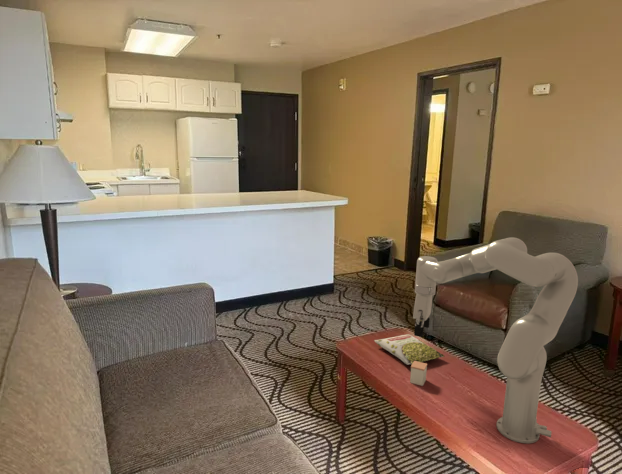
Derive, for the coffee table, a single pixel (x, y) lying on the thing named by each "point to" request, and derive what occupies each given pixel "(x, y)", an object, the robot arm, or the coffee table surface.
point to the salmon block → (418, 373)
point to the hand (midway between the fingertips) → (421, 331)
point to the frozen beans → (408, 349)
